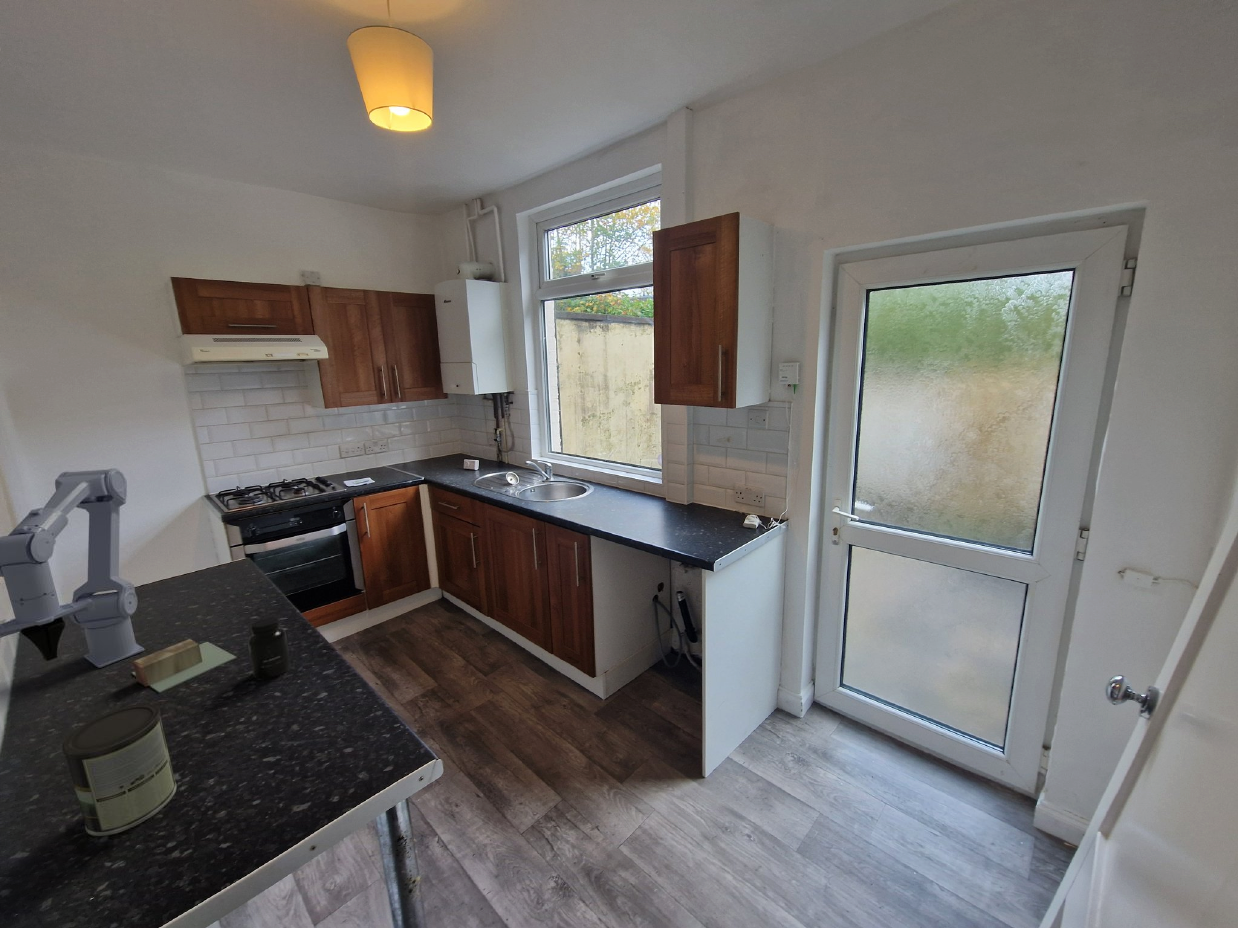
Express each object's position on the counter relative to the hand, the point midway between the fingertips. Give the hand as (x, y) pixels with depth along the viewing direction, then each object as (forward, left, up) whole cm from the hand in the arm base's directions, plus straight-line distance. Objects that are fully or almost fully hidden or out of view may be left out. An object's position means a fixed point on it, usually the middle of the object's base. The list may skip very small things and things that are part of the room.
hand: (50, 657), depth 98 cm
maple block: (+6, +10, -8) cm, 14 cm away
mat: (+6, +18, -10) cm, 21 cm away
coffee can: (+44, -3, -11) cm, 45 cm away
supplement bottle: (+26, +26, -11) cm, 38 cm away
